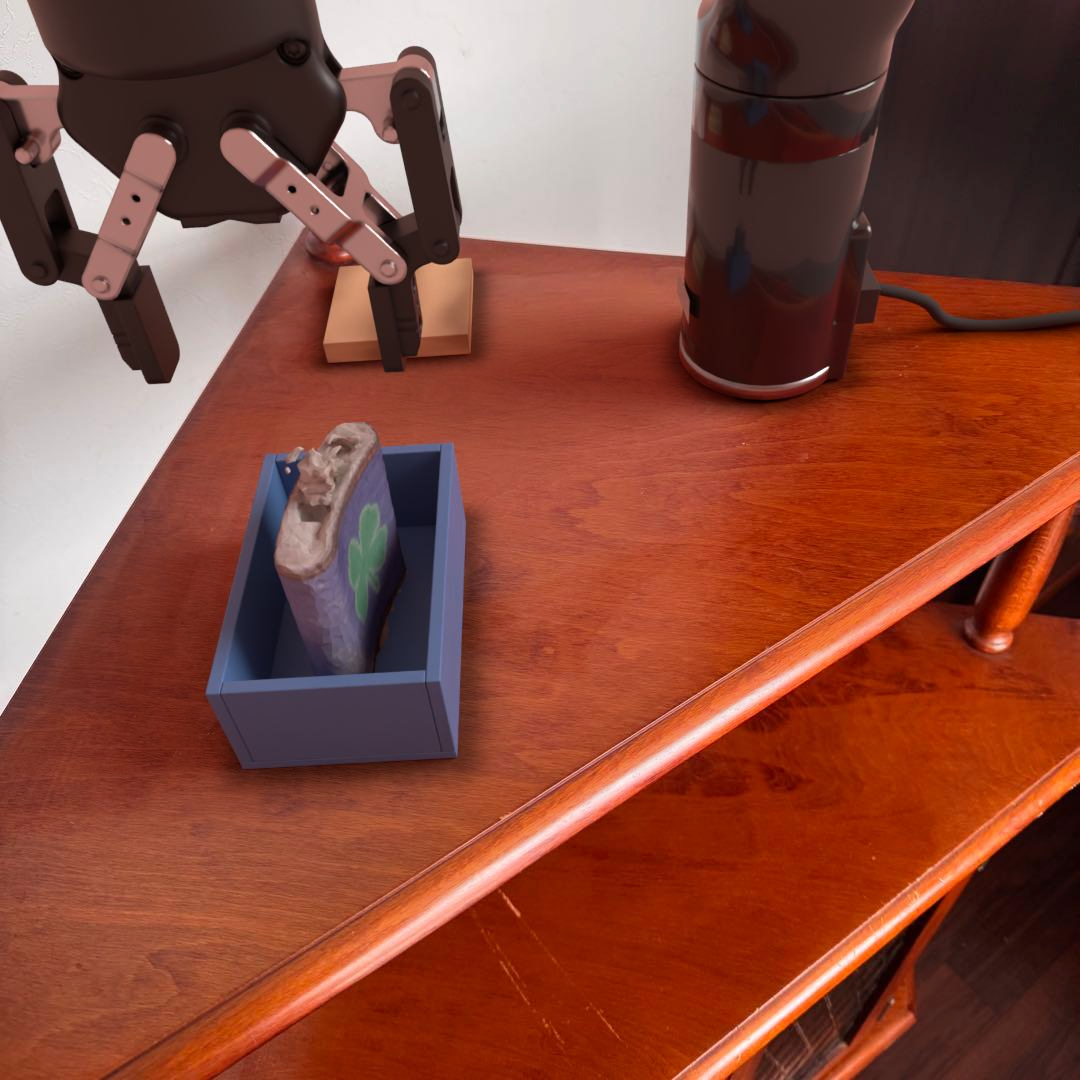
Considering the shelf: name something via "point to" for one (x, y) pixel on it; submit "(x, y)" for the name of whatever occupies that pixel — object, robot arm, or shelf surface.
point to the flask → (341, 551)
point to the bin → (403, 663)
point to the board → (441, 309)
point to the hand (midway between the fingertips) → (282, 365)
